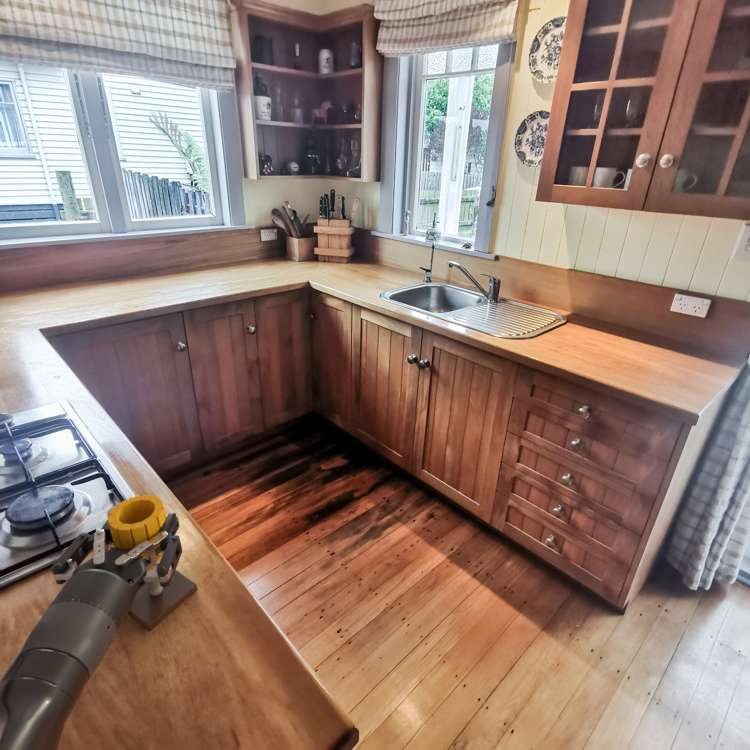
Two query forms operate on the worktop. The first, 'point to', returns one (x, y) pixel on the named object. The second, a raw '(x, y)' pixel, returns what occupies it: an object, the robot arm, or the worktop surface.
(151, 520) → the yellow grooved hollow cylinder
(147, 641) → the worktop surface
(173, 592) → the stand
